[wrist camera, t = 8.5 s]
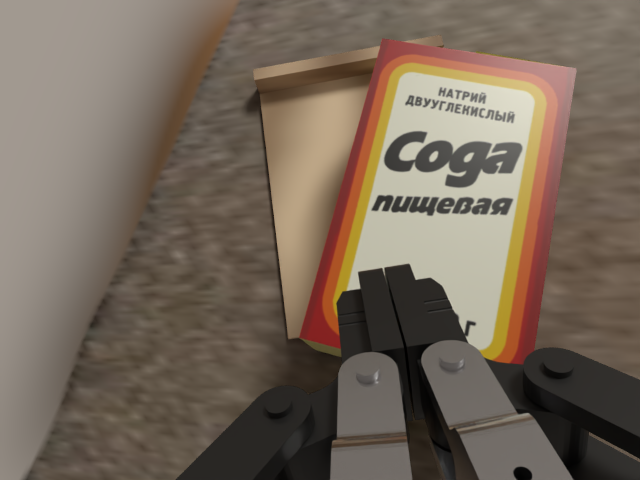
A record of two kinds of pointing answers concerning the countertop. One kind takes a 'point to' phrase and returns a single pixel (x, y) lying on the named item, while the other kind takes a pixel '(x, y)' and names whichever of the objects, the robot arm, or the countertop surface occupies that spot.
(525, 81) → the baking soda box
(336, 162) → the wooden board
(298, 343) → the countertop surface
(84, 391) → the countertop surface
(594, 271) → the countertop surface
